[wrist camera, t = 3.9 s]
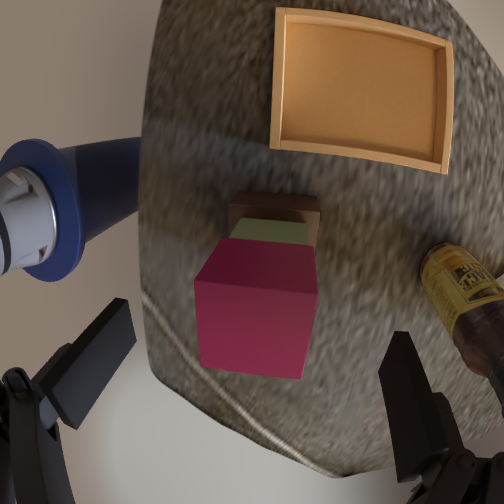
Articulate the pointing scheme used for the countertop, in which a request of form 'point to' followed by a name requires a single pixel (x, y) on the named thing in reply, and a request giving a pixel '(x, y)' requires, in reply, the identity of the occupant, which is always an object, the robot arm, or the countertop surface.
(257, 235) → the sage block
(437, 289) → the sauce bottle
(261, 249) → the mulberry block
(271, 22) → the countertop surface
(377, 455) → the countertop surface
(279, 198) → the walnut block
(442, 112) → the oak tray
